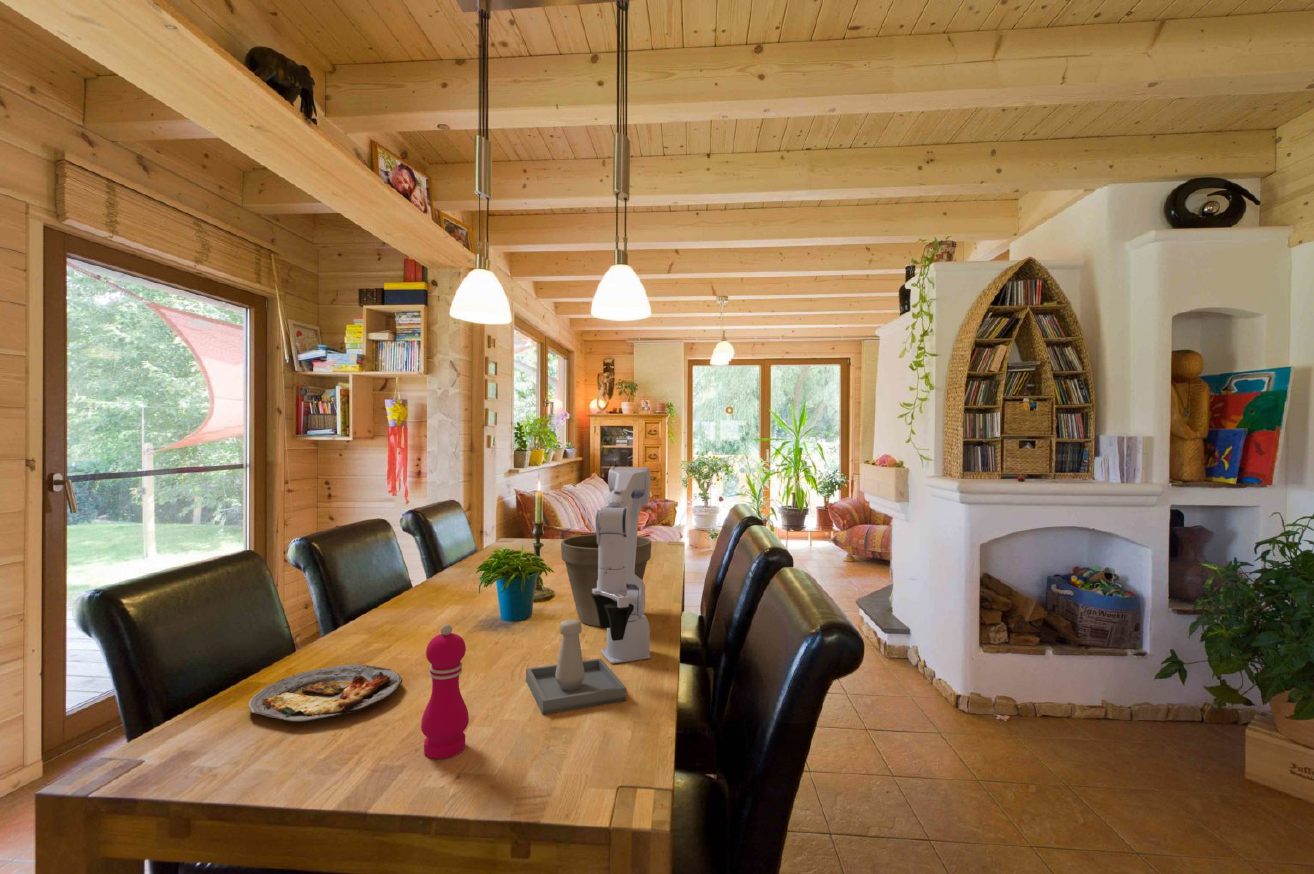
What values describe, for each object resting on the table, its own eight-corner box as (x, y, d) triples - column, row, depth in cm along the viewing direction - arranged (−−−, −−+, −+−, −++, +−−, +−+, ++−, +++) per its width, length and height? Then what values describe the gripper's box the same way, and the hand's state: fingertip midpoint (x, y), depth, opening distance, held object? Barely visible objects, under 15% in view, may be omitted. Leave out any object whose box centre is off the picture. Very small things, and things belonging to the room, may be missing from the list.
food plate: (426, 683, 121) (426, 666, 121) (329, 740, 99) (328, 719, 99) (330, 669, 129) (330, 653, 129) (220, 719, 107) (220, 699, 107)
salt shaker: (577, 694, 115) (578, 627, 115) (550, 691, 117) (551, 624, 117) (589, 682, 121) (589, 618, 121) (562, 679, 123) (563, 615, 122)
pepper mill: (428, 738, 100) (429, 617, 100) (472, 737, 101) (474, 617, 100) (414, 761, 93) (416, 632, 93) (462, 760, 93) (464, 631, 93)
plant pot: (569, 604, 179) (570, 531, 179) (652, 606, 178) (653, 533, 178) (551, 632, 154) (552, 547, 154) (647, 634, 153) (648, 549, 153)
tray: (600, 669, 130) (601, 658, 130) (626, 700, 115) (626, 687, 115) (525, 680, 123) (526, 668, 123) (542, 714, 109) (542, 700, 109)
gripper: (583, 560, 127) (582, 624, 127) (604, 576, 114) (603, 647, 114) (615, 558, 130) (614, 621, 130) (639, 573, 116) (638, 643, 117)
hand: (611, 633), depth 122 cm, fingers open, 7 cm apart
